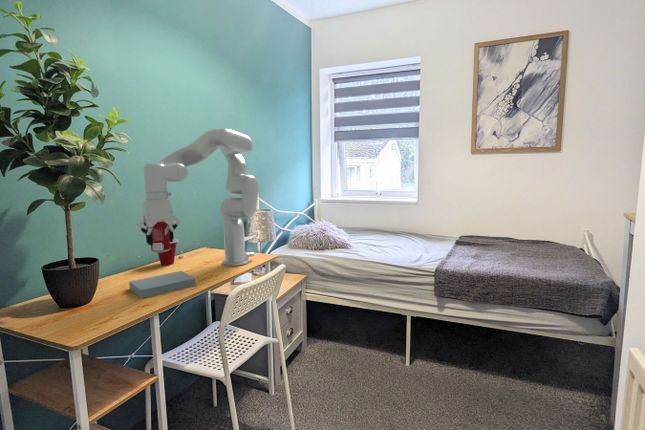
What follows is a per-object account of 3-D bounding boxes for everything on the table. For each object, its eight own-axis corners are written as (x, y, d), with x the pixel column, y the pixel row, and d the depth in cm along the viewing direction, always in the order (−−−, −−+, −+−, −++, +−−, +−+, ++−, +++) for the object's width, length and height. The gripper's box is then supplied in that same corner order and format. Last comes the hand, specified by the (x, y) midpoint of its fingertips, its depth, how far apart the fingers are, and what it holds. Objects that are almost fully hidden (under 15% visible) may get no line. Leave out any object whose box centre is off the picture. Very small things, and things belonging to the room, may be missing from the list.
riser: (181, 277, 151) (181, 270, 151) (196, 285, 141) (195, 278, 140) (129, 289, 138) (129, 281, 137) (141, 298, 127) (140, 290, 127)
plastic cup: (172, 267, 167) (170, 242, 166) (150, 266, 169) (148, 241, 167) (184, 261, 178) (182, 237, 176) (164, 260, 179) (162, 237, 178)
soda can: (163, 253, 134) (160, 221, 132) (147, 253, 135) (144, 221, 133) (174, 249, 140) (172, 219, 138) (158, 248, 141) (156, 218, 140)
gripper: (176, 194, 143) (179, 238, 146) (128, 197, 131) (132, 245, 134) (183, 195, 138) (186, 241, 140) (134, 198, 126) (139, 248, 128)
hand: (160, 242), depth 137 cm, fingers closed on soda can, 6 cm apart
